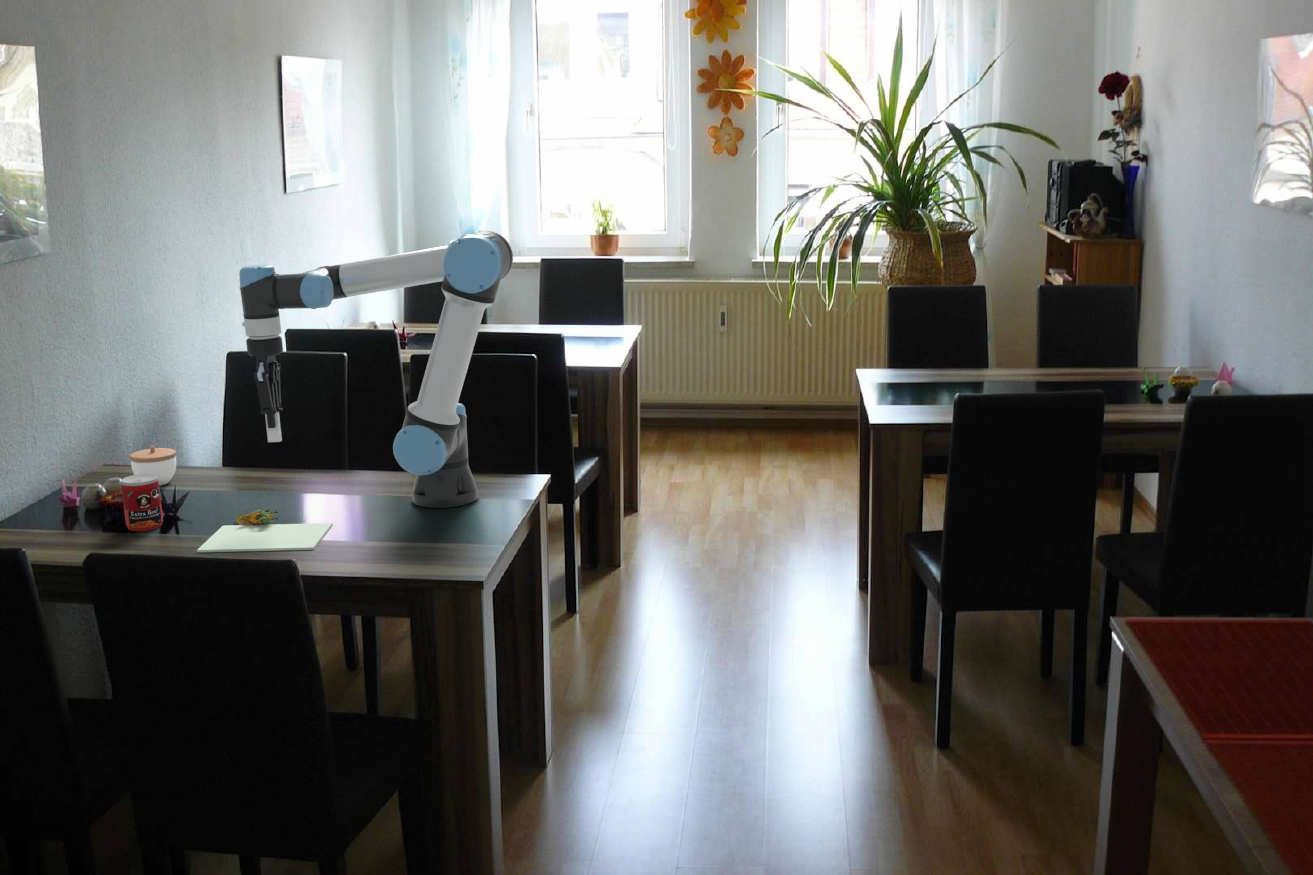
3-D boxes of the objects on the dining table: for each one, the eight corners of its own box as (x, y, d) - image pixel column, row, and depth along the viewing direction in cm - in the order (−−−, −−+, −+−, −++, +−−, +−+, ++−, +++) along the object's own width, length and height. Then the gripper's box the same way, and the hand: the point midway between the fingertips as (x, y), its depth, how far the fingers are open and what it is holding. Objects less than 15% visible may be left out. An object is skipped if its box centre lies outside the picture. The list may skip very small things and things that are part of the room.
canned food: (128, 533, 278) (122, 484, 276) (124, 524, 285) (118, 476, 283) (165, 528, 282) (160, 479, 279) (161, 519, 289) (155, 471, 286)
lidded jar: (169, 488, 314) (165, 451, 312) (125, 489, 314) (121, 452, 312) (185, 477, 325) (181, 441, 322) (143, 477, 325) (139, 441, 323)
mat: (332, 525, 282) (332, 522, 281) (313, 549, 265) (313, 547, 265) (223, 527, 281) (222, 525, 281) (197, 552, 265) (196, 550, 265)
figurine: (287, 522, 282) (256, 529, 276) (254, 520, 290) (223, 527, 283) (285, 508, 282) (254, 515, 275) (252, 506, 289) (221, 513, 283)
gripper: (255, 332, 287) (266, 435, 293) (237, 341, 274) (249, 448, 280) (288, 331, 287) (299, 433, 293) (272, 340, 275) (284, 447, 280)
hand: (275, 441), depth 286 cm, fingers closed
